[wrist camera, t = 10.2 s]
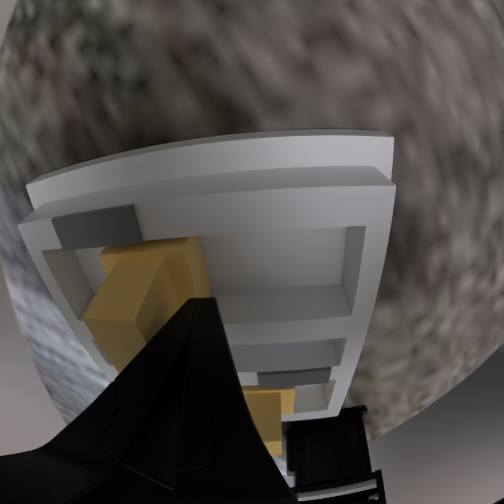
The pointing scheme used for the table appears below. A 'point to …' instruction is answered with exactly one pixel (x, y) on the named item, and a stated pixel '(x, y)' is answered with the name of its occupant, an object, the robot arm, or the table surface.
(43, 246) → the switch bank
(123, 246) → the near tab
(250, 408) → the far tab
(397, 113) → the table surface
